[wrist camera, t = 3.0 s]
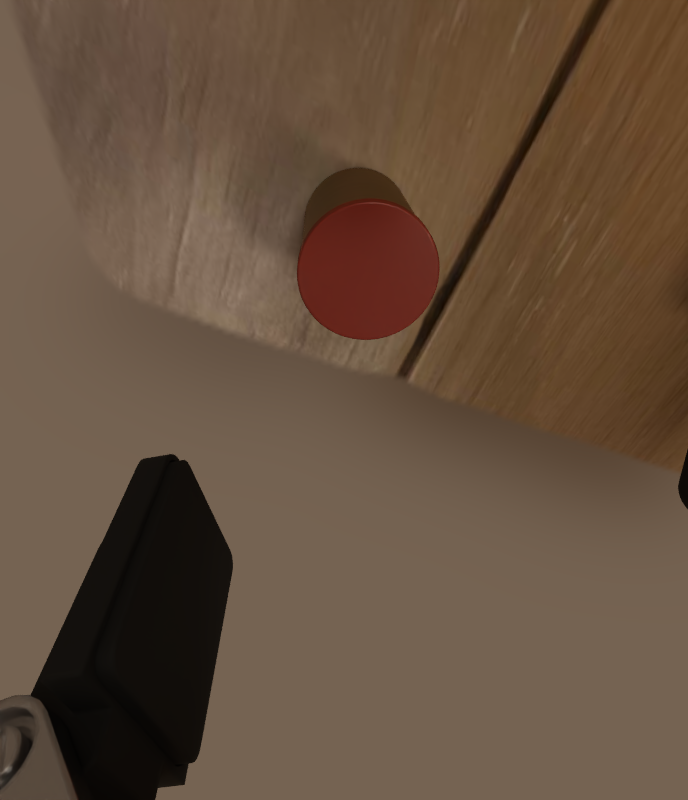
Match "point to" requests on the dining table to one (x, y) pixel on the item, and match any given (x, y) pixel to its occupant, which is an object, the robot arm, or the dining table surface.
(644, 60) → the dining table surface
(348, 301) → the spice tin
